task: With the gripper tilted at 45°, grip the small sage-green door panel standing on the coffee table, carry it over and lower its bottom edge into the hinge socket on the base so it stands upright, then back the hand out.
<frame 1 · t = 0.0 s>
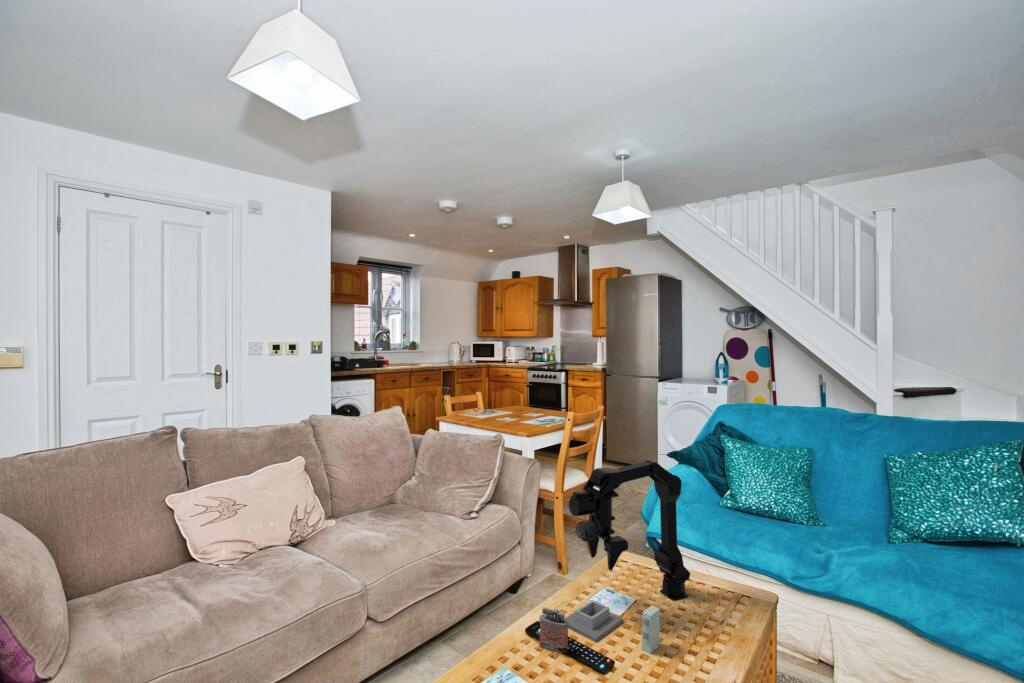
hand: (601, 563, 149), 15 cm above the table, tool pointing down, fingers open, 9 cm apart
lighter: (553, 648, 131), on the table
hinge socket: (592, 623, 143), on the table
door panel: (650, 648, 131), on the table
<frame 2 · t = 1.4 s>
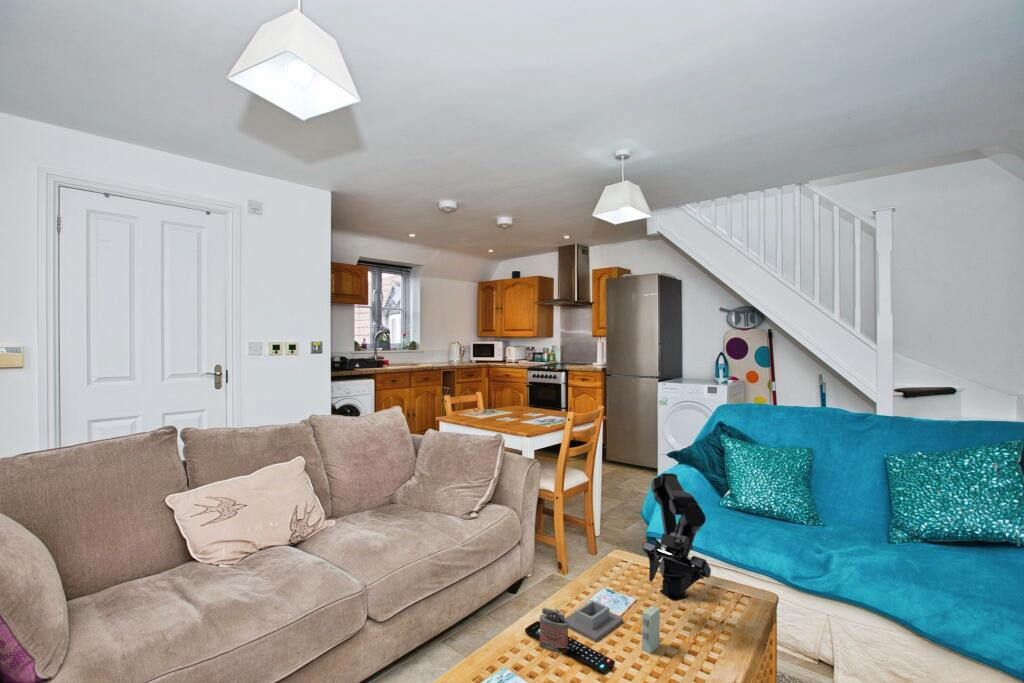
hand: (665, 586, 137), 14 cm above the table, tool tilted 45°, fingers open, 9 cm apart
nothing on the table moved.
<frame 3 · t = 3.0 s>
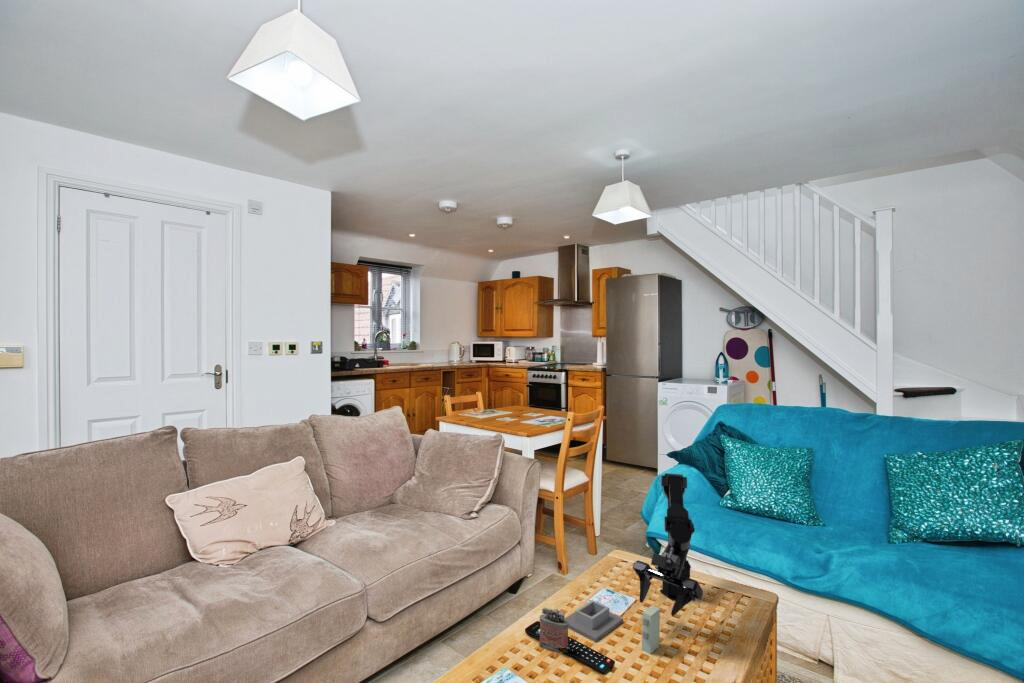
hand: (656, 608, 133), 10 cm above the table, tool tilted 45°, fingers open, 9 cm apart
nothing on the table moved.
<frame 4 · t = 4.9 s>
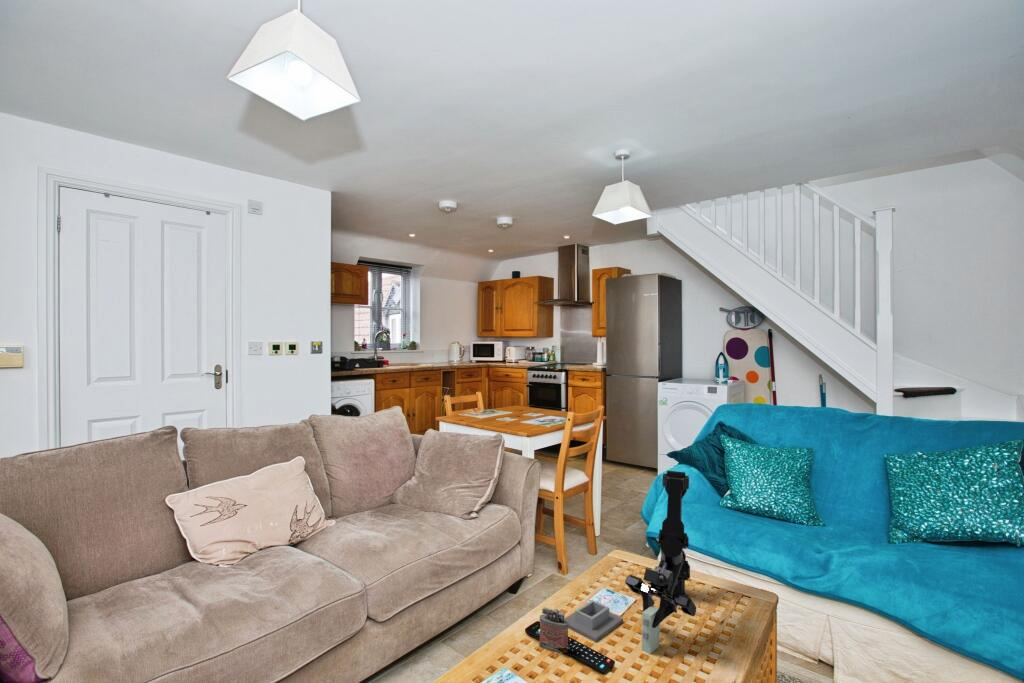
hand: (648, 625, 130), 7 cm above the table, tool tilted 45°, fingers closed on door panel, 2 cm apart
door panel: (650, 648, 131), on the table, touching gripper
everything else where it was.
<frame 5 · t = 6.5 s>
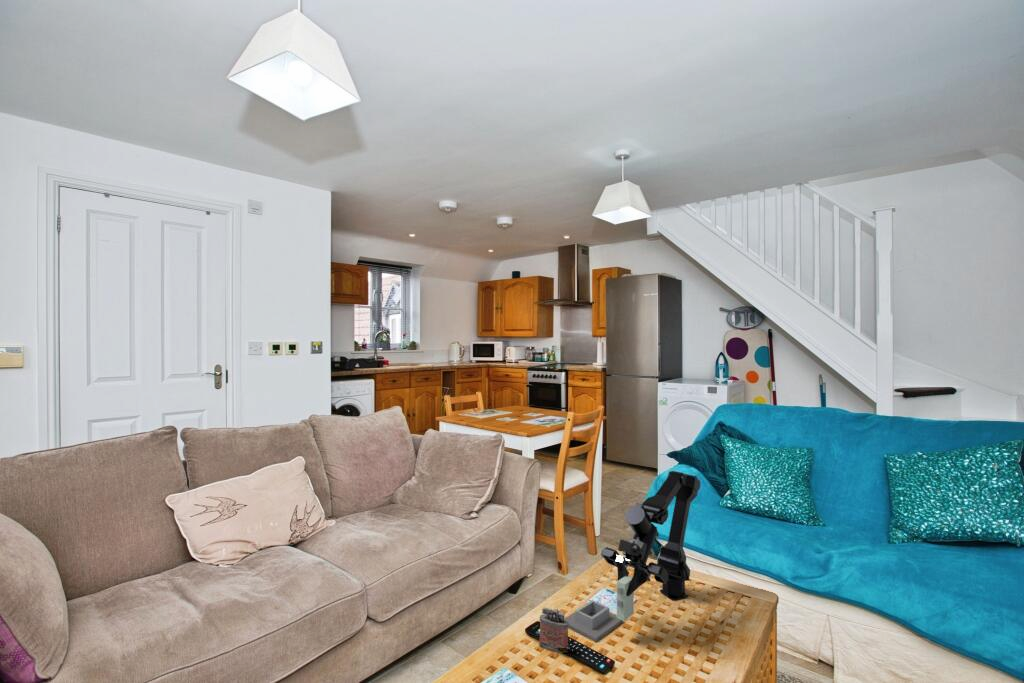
hand: (622, 593, 135), 12 cm above the table, tool tilted 45°, fingers closed on door panel, 2 cm apart
door panel: (625, 615, 136), point 6 cm above the table, touching gripper
everything else where it was.
when the fingers open (9 cm above the table, at t = 8.5 s): door panel drops 1 cm, resting on hinge socket.
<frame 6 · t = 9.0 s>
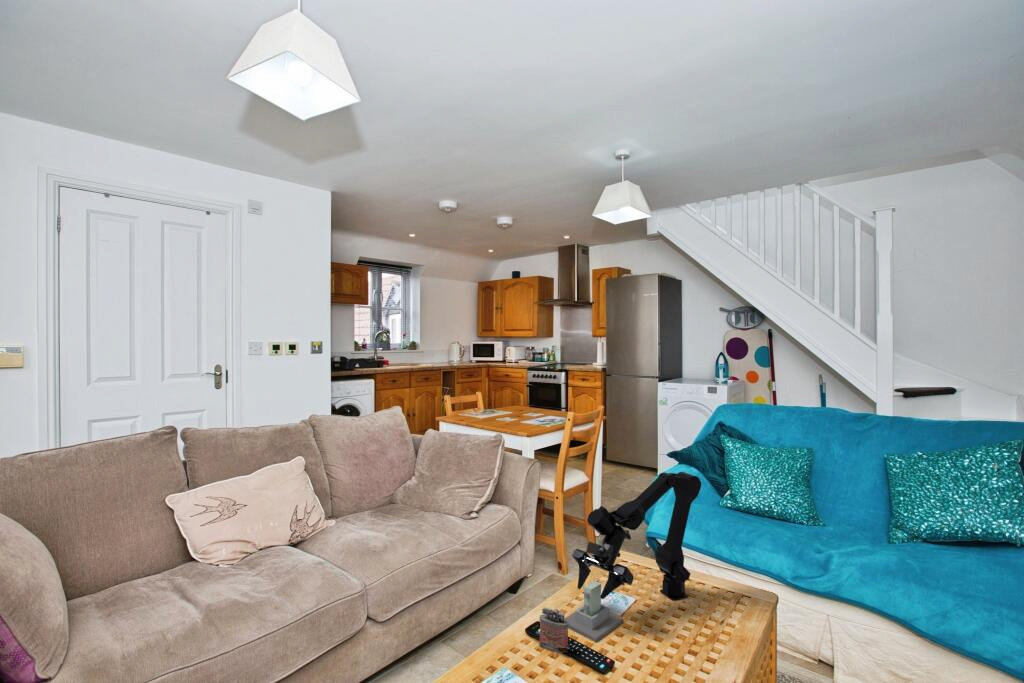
hand: (589, 593, 142), 9 cm above the table, tool tilted 45°, fingers open, 8 cm apart
door panel: (592, 619, 143), point 1 cm above the table, touching hinge socket
everything else where it was.
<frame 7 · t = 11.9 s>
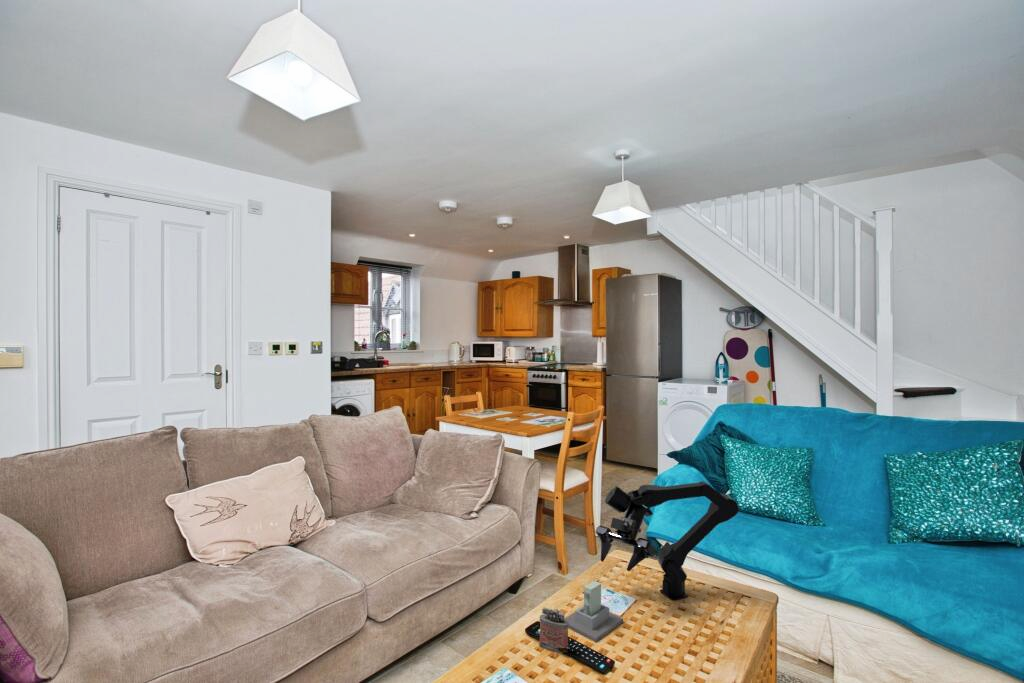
hand: (614, 565, 152), 13 cm above the table, tool tilted 45°, fingers open, 9 cm apart
nothing on the table moved.
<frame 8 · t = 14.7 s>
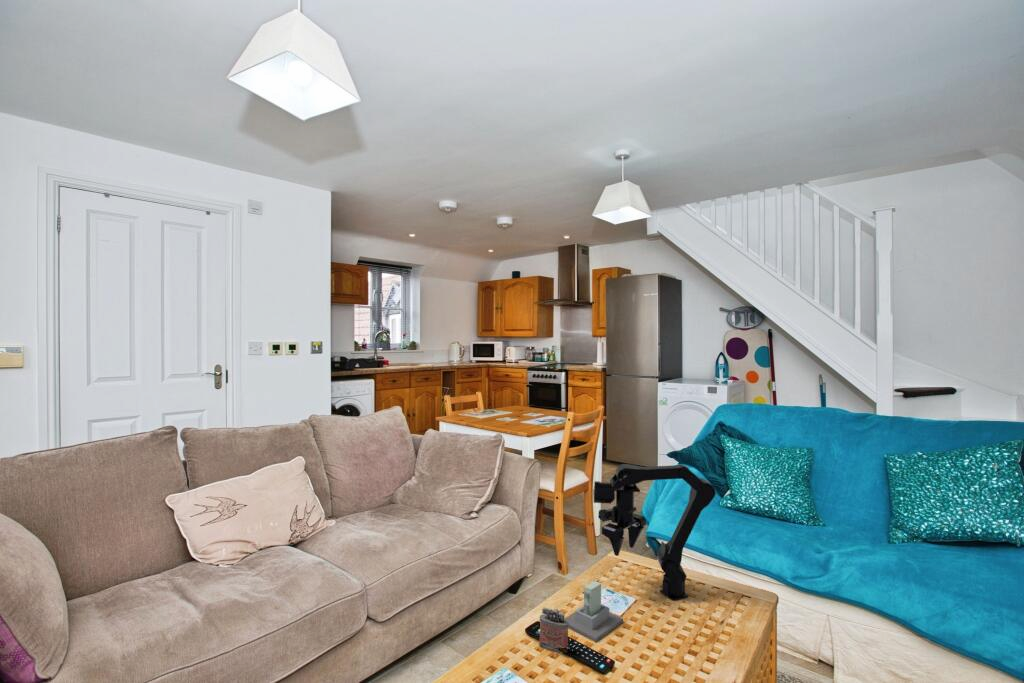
hand: (624, 551, 162), 13 cm above the table, tool pointing down, fingers open, 9 cm apart
nothing on the table moved.
at the end: door panel 0.1 cm off-centre on the hinge socket, point 1.0 cm above the hinge socket's base; door panel tilted 0°; the gripper is holding nothing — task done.
